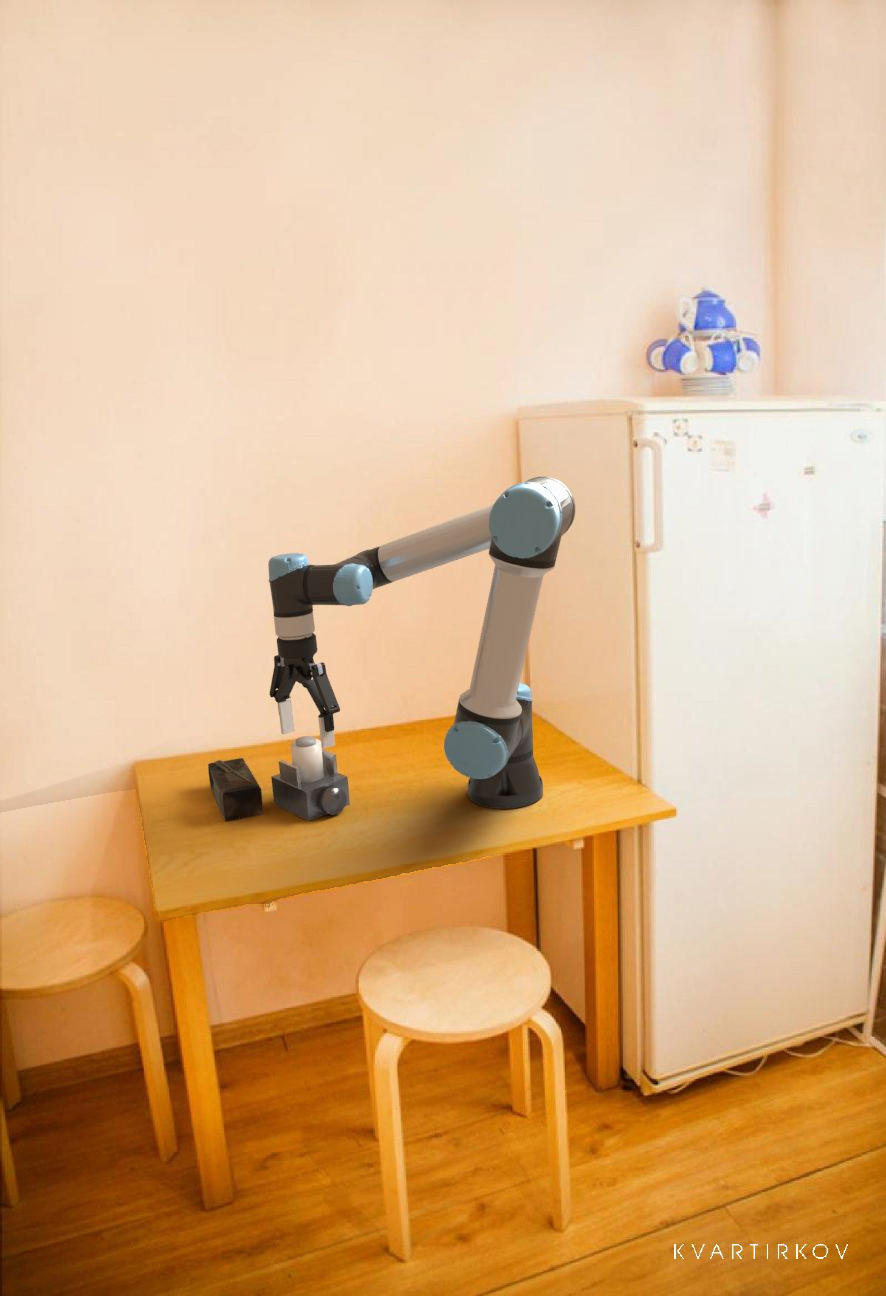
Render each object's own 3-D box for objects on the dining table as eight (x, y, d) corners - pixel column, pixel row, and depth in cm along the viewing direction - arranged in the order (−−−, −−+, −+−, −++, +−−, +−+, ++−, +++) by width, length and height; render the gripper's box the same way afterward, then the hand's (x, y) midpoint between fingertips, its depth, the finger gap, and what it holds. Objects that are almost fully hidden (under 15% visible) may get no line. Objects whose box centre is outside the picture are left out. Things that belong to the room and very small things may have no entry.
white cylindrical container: (330, 775, 196) (326, 738, 194) (305, 785, 192) (302, 747, 190) (311, 768, 201) (308, 732, 199) (287, 777, 197) (284, 740, 195)
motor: (357, 807, 195) (353, 760, 193) (316, 824, 189) (311, 776, 186) (314, 789, 206) (310, 744, 203) (274, 804, 199) (269, 758, 196)
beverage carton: (247, 782, 212) (243, 753, 210) (265, 816, 194) (262, 785, 193) (209, 789, 209) (206, 760, 207) (225, 824, 192) (221, 793, 190)
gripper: (351, 639, 182) (362, 747, 188) (275, 623, 200) (287, 721, 206) (318, 648, 177) (330, 758, 183) (244, 630, 195) (257, 732, 201)
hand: (307, 739), depth 194 cm, fingers open, 13 cm apart
